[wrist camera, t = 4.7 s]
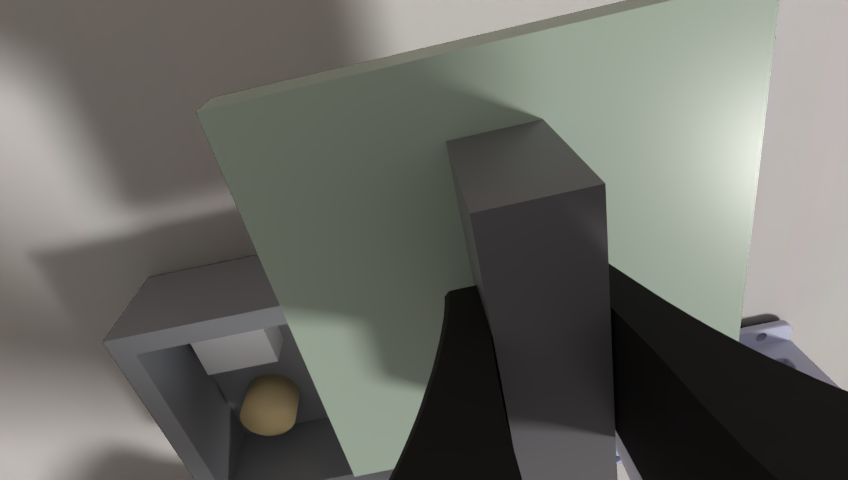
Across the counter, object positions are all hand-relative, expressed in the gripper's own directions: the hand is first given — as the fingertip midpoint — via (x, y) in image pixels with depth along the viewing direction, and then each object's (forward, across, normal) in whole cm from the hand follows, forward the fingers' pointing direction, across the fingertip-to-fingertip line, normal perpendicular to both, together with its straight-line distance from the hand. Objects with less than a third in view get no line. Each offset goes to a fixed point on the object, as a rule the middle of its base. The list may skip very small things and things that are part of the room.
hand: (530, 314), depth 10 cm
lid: (+3, 0, 0) cm, 3 cm away
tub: (+10, +9, +8) cm, 16 cm away
